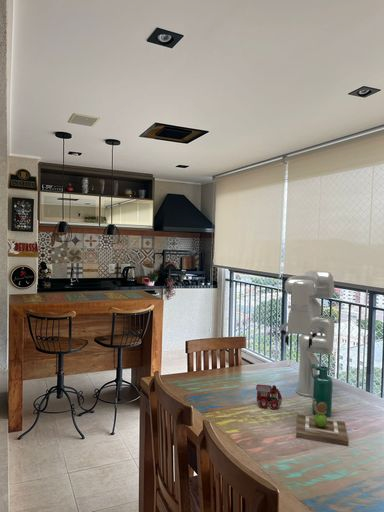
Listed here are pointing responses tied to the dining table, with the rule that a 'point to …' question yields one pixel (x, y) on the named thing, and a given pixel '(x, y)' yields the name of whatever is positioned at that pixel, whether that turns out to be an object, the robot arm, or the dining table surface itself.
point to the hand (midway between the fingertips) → (298, 345)
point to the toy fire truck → (268, 396)
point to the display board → (322, 430)
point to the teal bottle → (322, 388)
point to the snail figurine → (320, 414)
